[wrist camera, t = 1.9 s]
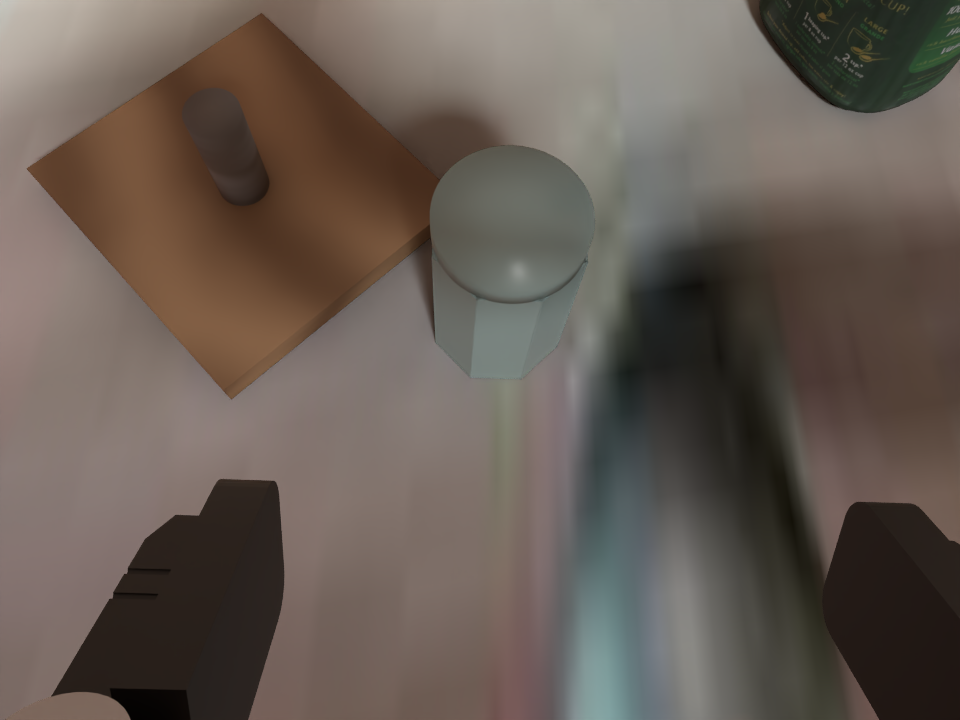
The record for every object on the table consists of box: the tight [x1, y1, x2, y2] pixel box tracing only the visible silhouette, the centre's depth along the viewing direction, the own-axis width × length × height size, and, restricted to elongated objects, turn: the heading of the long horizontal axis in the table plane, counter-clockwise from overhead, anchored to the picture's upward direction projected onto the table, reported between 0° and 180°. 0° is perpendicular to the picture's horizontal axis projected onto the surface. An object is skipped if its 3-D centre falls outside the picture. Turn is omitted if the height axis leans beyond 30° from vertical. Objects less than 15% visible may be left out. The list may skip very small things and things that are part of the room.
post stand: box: [27, 13, 440, 399], centre depth 32 cm, size 13×14×6 cm
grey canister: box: [430, 145, 595, 379], centre depth 29 cm, size 5×5×9 cm
